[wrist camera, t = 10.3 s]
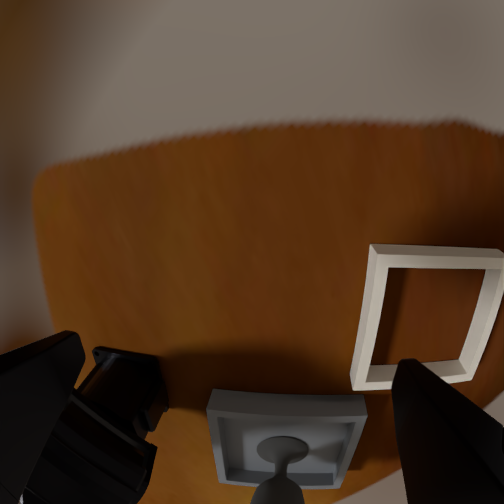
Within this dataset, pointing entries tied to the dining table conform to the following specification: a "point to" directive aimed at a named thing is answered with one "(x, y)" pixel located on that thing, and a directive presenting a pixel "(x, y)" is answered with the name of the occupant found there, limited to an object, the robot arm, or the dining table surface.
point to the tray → (284, 424)
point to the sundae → (280, 471)
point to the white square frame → (413, 256)
